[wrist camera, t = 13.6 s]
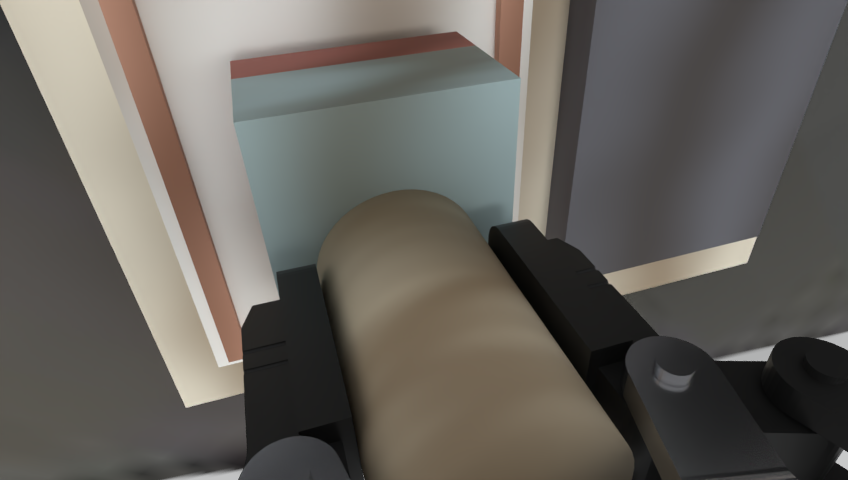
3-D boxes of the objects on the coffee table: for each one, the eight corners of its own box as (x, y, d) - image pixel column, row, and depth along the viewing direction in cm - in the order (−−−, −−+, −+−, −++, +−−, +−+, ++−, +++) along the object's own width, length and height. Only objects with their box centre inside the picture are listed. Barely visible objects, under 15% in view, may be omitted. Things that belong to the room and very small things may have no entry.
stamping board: (885, -202, 15) (975, -210, 13) (729, 249, 23) (770, 280, 22) (-56, -166, 10) (-113, -171, 8) (187, 384, 19) (184, 438, 17)
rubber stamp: (456, 31, 13) (765, 256, 5) (458, 271, 17) (637, 578, 10) (230, 61, 11) (248, 388, 4) (291, 309, 16) (353, 687, 8)
